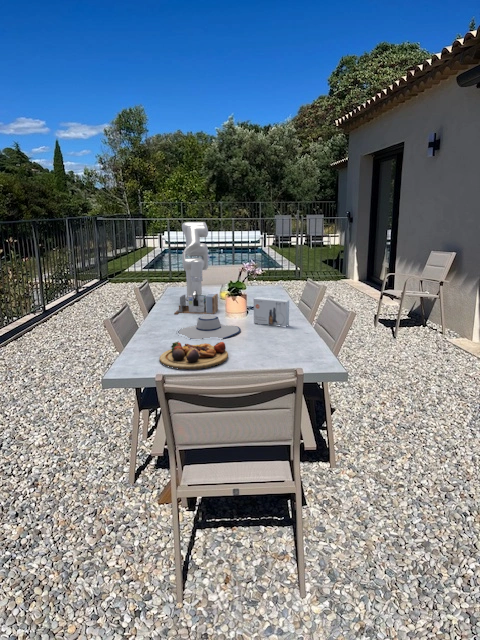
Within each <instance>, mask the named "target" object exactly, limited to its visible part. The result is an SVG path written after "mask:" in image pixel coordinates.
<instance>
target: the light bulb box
mask: <svg viewBox="0 0 480 640" xmlns="http://www.w3.org/2000/svg"><path fill="white" fill-rule="evenodd" d="M206 296H207V295H206V294H201V295H200V296H199V297H198V306H193V297H192V295H190V296H189V297H188V300H187V301H188V302H187V303H188V306H189V312H201V313H204V312H205V311H206ZM196 298H197V297H196Z"/></svg>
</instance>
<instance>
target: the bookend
mask: <svg viewBox="0 0 480 640" xmlns="http://www.w3.org/2000/svg"><path fill="white" fill-rule="evenodd" d="M186 301H187V300H186V294H182V295H181V296H179V305H180V309H179V308H178V309H177V310H178V311H177V310H176V311H177V312H183V311H184V310H186V306H187V304H186Z"/></svg>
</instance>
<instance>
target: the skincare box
mask: <svg viewBox="0 0 480 640" xmlns="http://www.w3.org/2000/svg"><path fill="white" fill-rule="evenodd" d="M254 323H258V324H257V325H261V324H269V325H280V326H287V325H289V326H290V299H283V298H272V297H270V298H269V297H261V296H256V297H254V298H253V324H254ZM269 325H268V326H269Z"/></svg>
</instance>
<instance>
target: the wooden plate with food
mask: <svg viewBox="0 0 480 640" xmlns="http://www.w3.org/2000/svg"><path fill="white" fill-rule="evenodd" d="M226 349H227V348H226V343H225V342H224V341H220V342H217V343H216V344H214V345H212V344H210V343H200V344H190V343H184V345H182V343H181V342H179V341H175V342H172V345H171V346H170V349H168V350H166V351H164V352H162V354H160V356H159V362H161V363H162V364H164V365H166V366H169V367H173V368H178V369H177V370H179V369H197V370H202V369H201V368H205V369H208V368H207V367H210V368H212V367H211V366H213V367H216V366H215V365H217V366H219V365H221V364H223V363H224V361H225V362H226V361H227V360H228V359H229V352H228V351H227V350H226ZM161 363H160V364H161ZM162 364H161V365H162ZM218 364H219V365H218ZM164 365H163V366H164ZM166 366H165V367H166Z"/></svg>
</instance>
